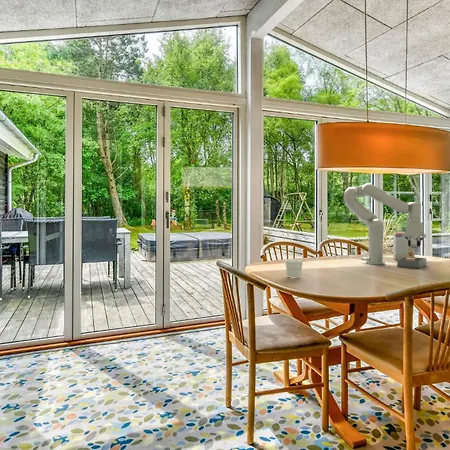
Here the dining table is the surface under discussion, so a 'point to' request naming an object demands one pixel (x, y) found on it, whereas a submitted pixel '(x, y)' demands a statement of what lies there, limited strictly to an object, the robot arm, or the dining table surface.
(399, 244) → the cracker box
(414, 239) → the metal cylinder
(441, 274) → the dining table surface
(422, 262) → the tote
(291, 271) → the cup
